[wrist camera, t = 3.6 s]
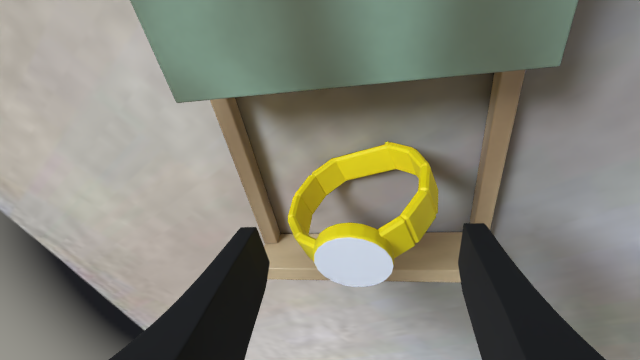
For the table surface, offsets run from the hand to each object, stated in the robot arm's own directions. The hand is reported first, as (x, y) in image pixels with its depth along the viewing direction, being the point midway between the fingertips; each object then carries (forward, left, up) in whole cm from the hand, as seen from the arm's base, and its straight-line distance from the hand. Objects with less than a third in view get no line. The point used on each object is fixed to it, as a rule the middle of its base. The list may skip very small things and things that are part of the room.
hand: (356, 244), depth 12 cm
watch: (0, 0, -5) cm, 5 cm away
